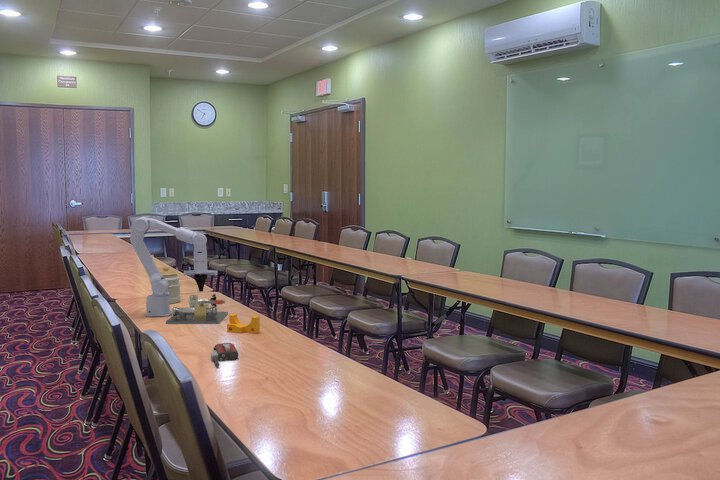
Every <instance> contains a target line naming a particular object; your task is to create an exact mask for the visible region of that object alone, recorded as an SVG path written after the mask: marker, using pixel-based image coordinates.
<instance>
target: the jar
mask: <svg viewBox="0 0 720 480" xmlns="http://www.w3.org/2000/svg"><path fill="white" fill-rule="evenodd" d="M158 270H159V272H160V273H161V274H162V275H163V277H164V278H165V279H166V280H167V281H168V282H169V288H168V290H167V291H168V292H169V298H170V305H172V304H176V303H179V302H181V283H180V279H181V277H180V276H179V275H178V274H179V272H178V271H176V270H174V269H169V266H167V265H165V266H163V267H162V269H158Z"/></svg>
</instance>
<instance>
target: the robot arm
mask: <svg viewBox="0 0 720 480" xmlns="http://www.w3.org/2000/svg"><path fill="white" fill-rule="evenodd" d="M130 230H131V231H130V237H129V240H130V243H131V245H132V247H133V249H134V251H135V252H136V255H137V257H138V259H139V261H140V263H141V265H142V266H143V268H144V271H145V272H146V274H147V276H148V280H149V283H150V285H151V292H152V293H151V294H148V295H147V297H146V300H145V301H146V302H145V303H146V305H145V306H146V315H145V316H146V317H169V316H170V315H171V314H172V310H171V308H170V307H171V306H170V305H171V304H170V298H169V292H168V291H167V290H168V288H169V282H168V281H167V280H166V279H165V278H164V277H163V275H162V274H161V273H160V272H159V270H160V269H159V268H158V266H157V264H156V262H155V260H154V259H153V257H152V255H151V253H150V251H149V249H148V247H147V245H146V243H145V241H144V238H145V237H146V233H147V232H148V231H152V230H154V231H155V230H159V231H161V232H165V233H168V234H171V235H174V236H175V238H176V239H177V240H179V241H181V242H184V243H186V244H189V245H193V270H192V269H191V270H184V271H183V276H193V279H194V280H195V283H196V285H197V288H198V292H199V293H200V292H204V287H205V284H206V281H207V278H208V276H218V274H219V273H218V270H213V269H208V251H207V249H208V248H207V242H208V239H207V236H206V235H205V234H203V233H202V232H201V233H200V232H199V231H194V230H191V229H189V228H188V227H186V226H184V227H183V226H181V227H175V226H173V225H170V224H168V223H165V222H164V221H160V220H159V219H157V218H152V217H148V216H140V217H137V218H135V219H134V221H133V222H132V224H131V227H130Z"/></svg>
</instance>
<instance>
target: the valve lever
mask: <svg viewBox="0 0 720 480" xmlns="http://www.w3.org/2000/svg"><path fill="white" fill-rule="evenodd" d="M207 300H208V299H202V301H201V303H200V306H203V305H204V304H209V305H211V304H216V305H224V304H226V300H224V299H216V300H215V301H207Z"/></svg>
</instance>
